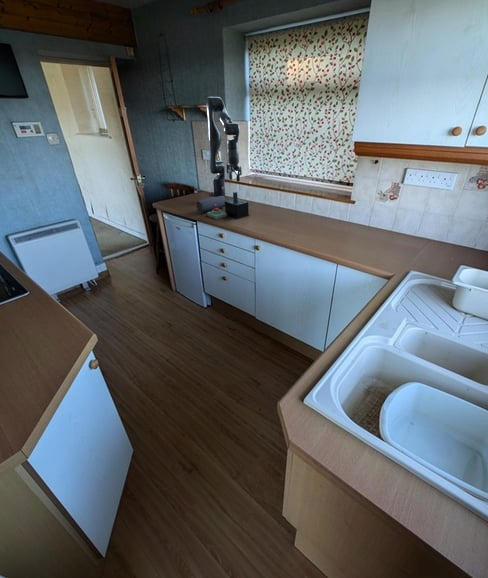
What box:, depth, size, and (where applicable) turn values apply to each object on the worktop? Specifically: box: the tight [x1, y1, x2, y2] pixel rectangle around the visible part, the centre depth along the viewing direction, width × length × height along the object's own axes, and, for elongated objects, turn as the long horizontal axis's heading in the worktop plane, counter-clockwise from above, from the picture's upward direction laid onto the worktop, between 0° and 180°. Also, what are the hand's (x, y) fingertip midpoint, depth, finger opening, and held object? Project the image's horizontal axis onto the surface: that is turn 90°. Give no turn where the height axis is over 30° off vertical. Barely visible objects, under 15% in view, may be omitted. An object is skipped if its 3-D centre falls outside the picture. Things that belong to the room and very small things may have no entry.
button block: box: [206, 209, 228, 220], centre depth 216 cm, size 12×10×4 cm
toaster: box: [224, 198, 250, 220], centre depth 216 cm, size 14×11×10 cm
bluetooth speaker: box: [196, 196, 227, 213], centre depth 226 cm, size 23×9×10 cm, turn 132°
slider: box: [232, 191, 239, 200], centre depth 216 cm, size 2×2×5 cm
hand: (234, 180), depth 210 cm, fingers open, 8 cm apart
